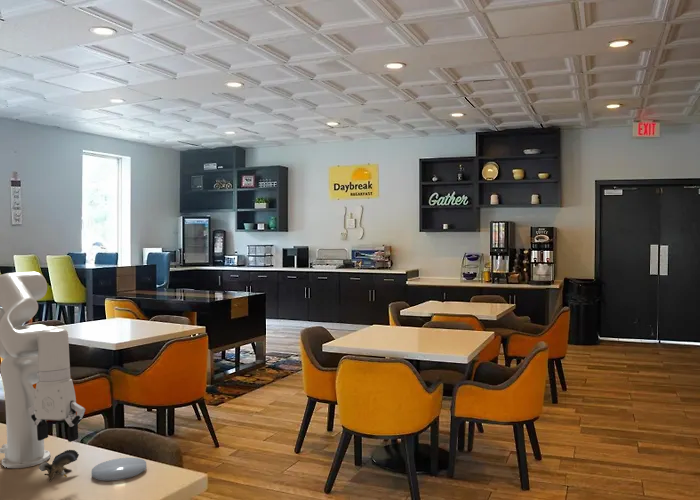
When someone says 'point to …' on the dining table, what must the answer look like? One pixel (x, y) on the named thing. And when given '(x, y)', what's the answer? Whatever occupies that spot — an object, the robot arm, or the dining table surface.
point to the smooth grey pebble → (118, 469)
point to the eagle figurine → (59, 463)
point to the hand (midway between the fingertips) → (58, 439)
